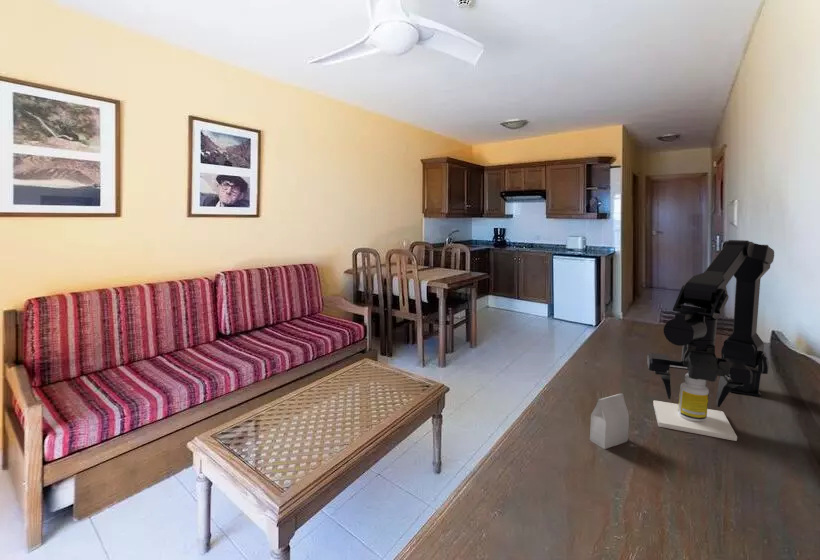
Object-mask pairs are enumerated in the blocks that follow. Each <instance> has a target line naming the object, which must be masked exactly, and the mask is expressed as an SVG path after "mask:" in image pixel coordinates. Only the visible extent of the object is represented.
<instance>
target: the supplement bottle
mask: <svg viewBox="0 0 820 560" xmlns="http://www.w3.org/2000/svg"><path fill="white" fill-rule="evenodd" d="M706 385H707V380H702V379H697V380H696V379H692V378H690V377H689V375H688V372H687V373H685V375H684V382H682V383H681V384H680V387H679V396H678V403H677V404H678V414H679V415H680V416H681V417H683V418H685V419H687V420H690V421H696V422H702V421H705V420H706V417H707V409H709V407H708V406H709V397H710V396H709V395H710V390H709V387H707V386H706Z"/></svg>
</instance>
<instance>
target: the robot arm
mask: <svg viewBox="0 0 820 560" xmlns="http://www.w3.org/2000/svg"><path fill="white" fill-rule="evenodd" d="M774 259H775V250H774V249H773V248H771V247H770V246H769V244H759V243H756V242H753V241H749V240H744V239H743V240H742V239H728V240H725V241H724V242H723V244H722V247H721V250H720V251H719V252H718V253H717V255H716V256H715V257H714V259H713V260H712V261H711V263H710V264H709V266H708V267H707V268H706V269H705V270H704V272H702V273H699V274H696V275H693V276H692V277H691V278H690V279H688V280H687V281H686V282H685V284H682V287H681V289H680V291H679V293H678V295H677V298H676V301H675V303H674V305H673V308H672V311H673V312H675V314H674V318H673V319H670V320H668V321H667V322H666V323H665V324H664V326H663V335H664V337H665V339H666V340H667V341H668V342H669V343H671V344H672V345H675V346H680V347H682V350H681V360H680V359H679V360H678V359H671V358H669V356H668V353H667V354H666V353H658V352H649V353H648V354H647V359H646V361H647V363H646V364H647V367H648V370H649V371H652V372H654V374H655V375H658V376H660V378H661V379H662V382H663V385H664V389H665V391H666V395H667V399H668V400H671V399H672V398H671V397H672V388H671V373H670V368H671V369H679V370H686V371H687V373H688V375H689V377H690V378H692V379H696V380H697V379H702V380H706V381H708V382H716V381H717V378H718V377H719V380H718V385H717V393H716V399H715V401H716V402H715V403H716V404H715V405H716V407H717V408H720V407H721V406H722V404H723V402H724V401H725V400H726V398H727V397H728V395H729V394H730V393H736V394H742V395H751V396H756V397H761V395H762V393H761V392H760V384H761V376H762V375H767V374H769V370H770V369H769V366H770V361H769V359H768V356H767V353H766V352H765V343H764V341H763V340H762V338H761V337H760V335H759V334H758V333H757V328H758V314H759V305H760V303H759V301H760V291H761V278H763V276H764V275H765V274H766V273H767V272H768V271H769V270H770V269H771V264H772V263H774ZM733 277H734V278H735V280H736V281H735V294H734V297H735V298H734V309H733V325H732V326H733V327H732V333H731V334H730V335H729V336H728V337H727V338H726V339H725V340H724V341H723V345H722V346H721V357H717V355H716V348H715V347H716V346H715V344H716V335H717V324H718V316H719V315H721V314H722V312H723V310H724V308H725V306H726V304H727V302H728V301H729V294H728V290H727V285H728V284H729V282H730V281H731V280H732V279H733Z"/></svg>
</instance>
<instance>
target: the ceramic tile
mask: <svg viewBox="0 0 820 560" xmlns="http://www.w3.org/2000/svg"><path fill="white" fill-rule="evenodd" d="M678 404H679V403H672V402H669V401H668V402H667V401H666V402H665V401H661V400H653V403H652V405H653V410H654V413H655V419H656V422H657V426H658V427H660V428H664V429H665V428H666V429H670V430H676V431H679V432H680V431H681V432H686V433H692V434H697V435H703V436H708V437H713V438H718V439H724V440H728V441H729V440H730V441H733V442H735V441H736V442H737V440H738V436H737V434H736V432H735V430H734V429H733V426H732V425H731V423H730V422H729V420H728V418H727V416H726V414H725V412H724V411H722V410H716V409H710V408H707V417H706V420H705V421H702V422H696V421H690V420H687V419H685V418H683V417H681V416H680V415H679V414H678Z"/></svg>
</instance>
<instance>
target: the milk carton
mask: <svg viewBox="0 0 820 560" xmlns="http://www.w3.org/2000/svg"><path fill="white" fill-rule="evenodd" d="M629 422H630V414H629V411H628V408H627V405H626V402H625V397H624V393H622V392H621V393H617V394H614V395H610V396H609V395H608V396H607V397H602V398H598V399H597V403H596V405H595V407H594V409H593V410H592V412H591V414H590V429H589V431H590V432H589V441H590V442H592V443H593V444H595V445H597V446H598V447H600V448H602V449H603V450H606V449H609V448H611V447H612V448H613V447H615V446H618V445H621V444H625V443H627V442H628V439H629V424H630V423H629Z"/></svg>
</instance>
